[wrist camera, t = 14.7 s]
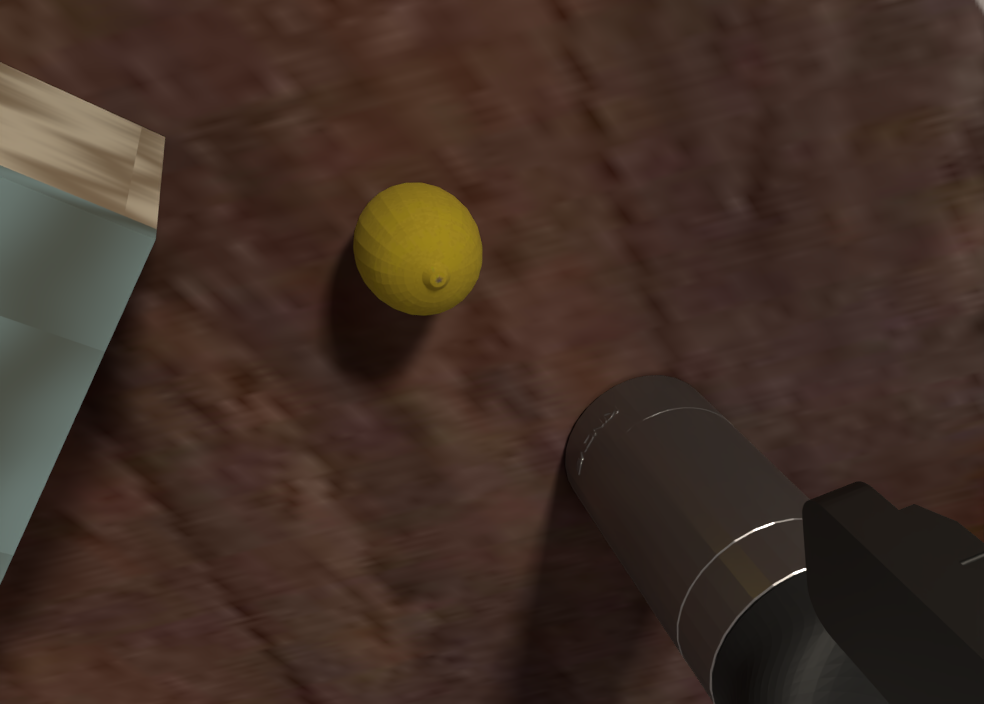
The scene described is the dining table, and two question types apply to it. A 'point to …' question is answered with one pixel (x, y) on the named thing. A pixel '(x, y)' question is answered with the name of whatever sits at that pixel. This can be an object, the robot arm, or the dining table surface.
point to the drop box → (61, 269)
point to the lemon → (417, 248)
